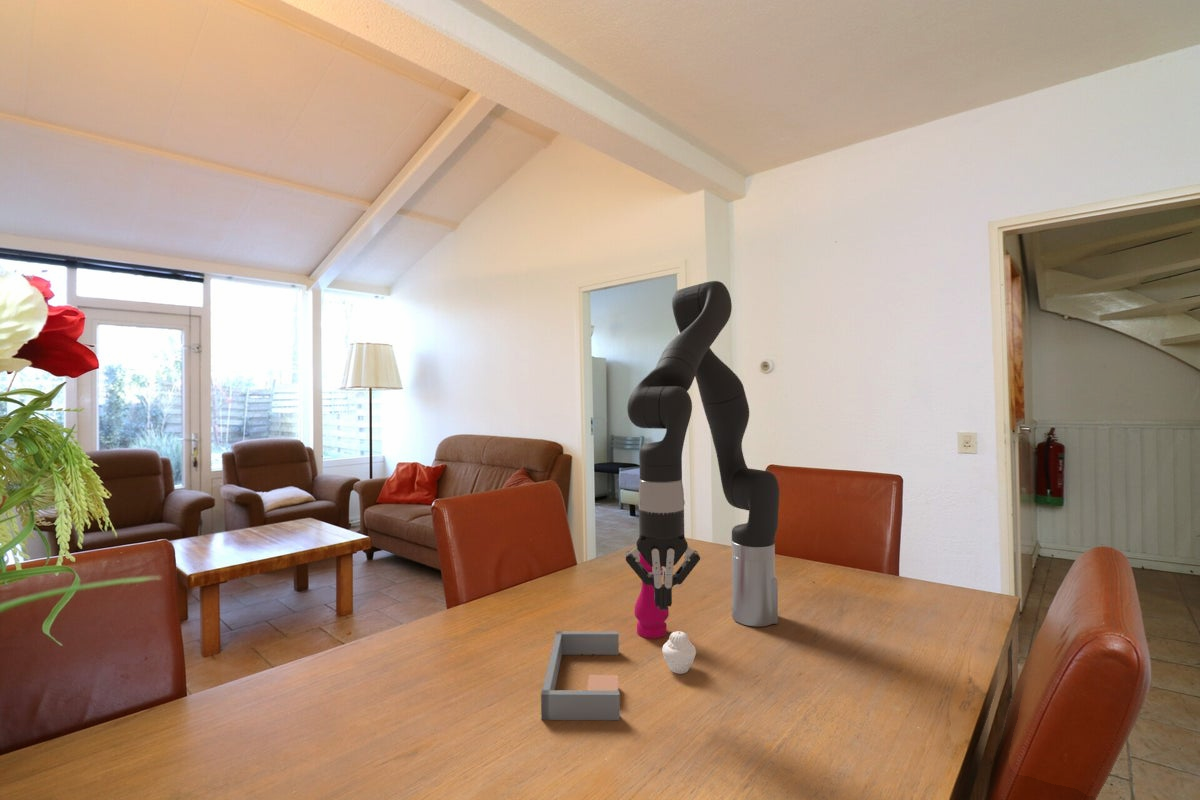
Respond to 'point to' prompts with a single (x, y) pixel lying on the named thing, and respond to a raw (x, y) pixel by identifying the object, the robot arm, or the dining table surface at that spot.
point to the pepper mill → (649, 609)
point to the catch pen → (579, 701)
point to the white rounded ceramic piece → (679, 652)
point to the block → (603, 682)
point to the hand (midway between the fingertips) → (662, 608)
